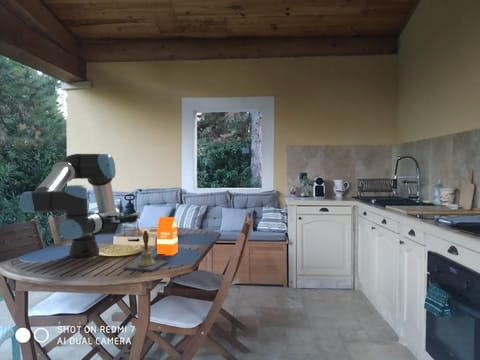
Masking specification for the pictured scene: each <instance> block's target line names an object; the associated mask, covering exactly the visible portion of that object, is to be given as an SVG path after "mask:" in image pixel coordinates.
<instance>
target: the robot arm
mask: <svg viewBox="0 0 480 360" xmlns="http://www.w3.org/2000/svg"><path fill="white" fill-rule="evenodd" d="M116 172H117V171H116V164H115V160H114V157H113V156H112V155H111V154H108V153H102V152H101V153H73V154H70V155H68V156H65V157H63V158H61V159H59V160H58V161H56V163H54V165H53V166H52V168H51V172H50V173H49V174H48V175H47V176H46V178H44V180H42V182H41V183H40V184H39V185H38V186H37V187H36V188H35V190H34V191H32V190H30V191H24V192H22V193H21V195H20V198H19V206H20V210H21V211H22V212H24V213H33V214H34V213H51V212H54V213H56V212H65V219H64V220H63V221H62V222H60V225H59V228H58V230H59V234H60V236H61V237H62V238H63V239H65V240H68V241H69V240H71V245H70V248H69V251H68V257H70V258H74V259H80V258H83V259H84V258H89V257H94V256H98V255H99V254H100V248H99V246H98V243H97V240H96V236H103V235H106V236H108V235H110V236H111V235H114V236H115V235H120V234H121V233H122V232H123V224H126V223H132V224H133V223H134V222H137V220H140V219H141V212H134V213H131V214H126V215H124V213H123V212H120V210H119V209H118V208H117V207H116V203H115V198H114V193H113V188H112V181H113V179H115V177H116V174H117V173H116ZM76 179H77V180H78V179H81V180H83V179H87V182H88V184H90V185H91V186H92V189H93V193H94V198H95V201H96V206H97V210H98V212H95V210H89V208H88V206H89V203H88V201H89V199H88V198H89V197H88V189H87V188H88V187H86V185H82V184H76V185H75V184H74V185H73V184H70V185H67V183H69V182H71V181H72V180H76ZM63 188H64V190H63ZM88 210H89V211H88ZM98 253H99V254H98Z"/></svg>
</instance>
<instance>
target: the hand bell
mask: <svg viewBox="0 0 480 360" xmlns="http://www.w3.org/2000/svg"><path fill="white" fill-rule="evenodd" d="M149 239H150V238H149V233H148V231H147V230H144V231H143V234H142V240H143V243H144V251H143V252H141V257H140V259H141V260H140V259H139V260H140V262H139V263H138V265H139V266H151V265H154V264H155V263H156V262H155V261H154V260H155V259H153V256H152V252H150V251H149V245H148V244H149Z"/></svg>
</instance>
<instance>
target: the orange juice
mask: <svg viewBox="0 0 480 360" xmlns="http://www.w3.org/2000/svg"><path fill="white" fill-rule="evenodd" d="M178 241H179V240H178V224H177V222H176V218H175V217H174V216H172V217H171V216H160V217H159V219H158V222H157V228H156V244H157V245H156V247H157V249H156V250H157V254H165V255H164V256H174V255H175V254H177V253H178V250H179V249H178V246H179V245H178Z"/></svg>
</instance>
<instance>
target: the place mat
mask: <svg viewBox="0 0 480 360" xmlns="http://www.w3.org/2000/svg"><path fill="white" fill-rule="evenodd" d="M140 260H141V258H140V259H138V260H136V261H134V262H132V263H130V264H128V265H126V266H124V267H123V270H127V271H128V270H131V271H142V272H152V273H153V272H154V271H157V270H158V269H159V268H162V267H164V266H165V265H167V264H168V263H169V260H161V259H153V260H154V261H155V262H156V263H155V264H154V265H151V266H139V265H138V263H139V262H140ZM166 263H167V264H166ZM164 264H165V265H164ZM163 265H164V266H163ZM161 266H162V267H161Z"/></svg>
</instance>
